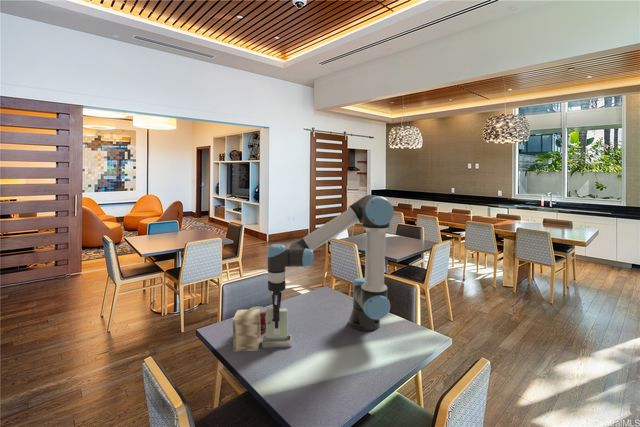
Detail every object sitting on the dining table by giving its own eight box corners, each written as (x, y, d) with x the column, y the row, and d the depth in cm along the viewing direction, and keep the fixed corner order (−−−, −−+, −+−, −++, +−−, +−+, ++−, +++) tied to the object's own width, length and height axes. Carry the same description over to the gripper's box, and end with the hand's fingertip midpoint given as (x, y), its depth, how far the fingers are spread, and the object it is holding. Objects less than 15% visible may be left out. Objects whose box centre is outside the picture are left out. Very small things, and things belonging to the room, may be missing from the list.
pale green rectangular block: (287, 334, 145) (287, 308, 143) (287, 338, 141) (287, 311, 139) (266, 334, 144) (266, 308, 143) (266, 338, 140) (265, 312, 139)
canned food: (263, 336, 150) (262, 313, 149) (246, 334, 152) (246, 312, 150) (268, 328, 157) (268, 306, 156) (253, 327, 159) (252, 305, 158)
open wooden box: (260, 338, 148) (259, 309, 146) (257, 350, 138) (257, 319, 136) (238, 339, 147) (237, 309, 145) (233, 351, 137) (232, 319, 135)
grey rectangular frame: (292, 340, 146) (292, 334, 146) (291, 346, 141) (291, 341, 141) (263, 341, 146) (263, 335, 145) (262, 347, 140) (262, 342, 140)
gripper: (269, 274, 147) (270, 324, 150) (265, 287, 132) (266, 341, 134) (286, 274, 148) (286, 323, 151) (284, 286, 132) (284, 341, 135)
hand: (277, 332), depth 143 cm, fingers closed on pale green rectangular block, 3 cm apart
